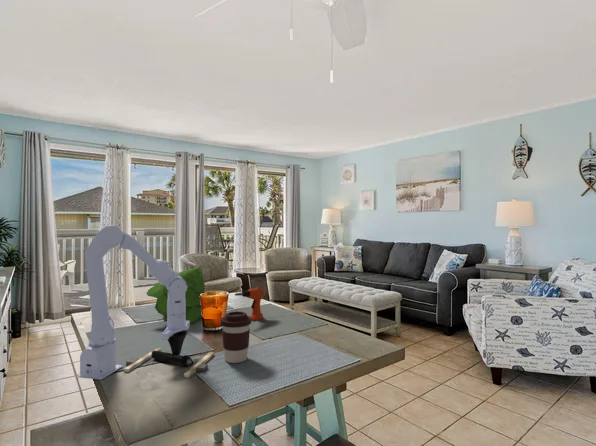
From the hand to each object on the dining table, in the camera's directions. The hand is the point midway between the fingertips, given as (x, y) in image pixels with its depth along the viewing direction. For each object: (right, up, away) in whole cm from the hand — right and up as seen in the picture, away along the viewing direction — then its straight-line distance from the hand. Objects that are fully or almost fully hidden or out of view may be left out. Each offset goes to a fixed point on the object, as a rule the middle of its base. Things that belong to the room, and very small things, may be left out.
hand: (176, 354), depth 120 cm
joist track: (-1, -2, -3) cm, 3 cm away
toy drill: (+18, -1, +45) cm, 49 cm away
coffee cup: (+19, -2, 0) cm, 19 cm away
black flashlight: (-1, -2, -2) cm, 3 cm away
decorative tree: (-15, -1, +48) cm, 50 cm away
